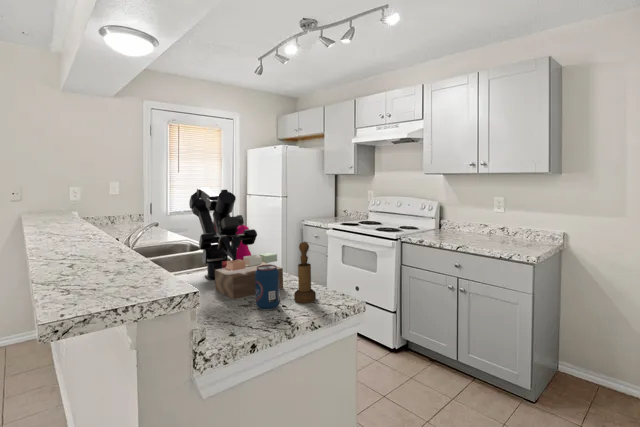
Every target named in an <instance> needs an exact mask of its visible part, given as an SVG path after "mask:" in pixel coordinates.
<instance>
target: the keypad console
mask: <svg viewBox="0 0 640 427" xmlns="http://www.w3.org/2000/svg"><path fill="white" fill-rule="evenodd" d="M245 265H246V264H245ZM261 265H272V263H264V262H262V264H258V265H253V266H249V265H246V269H240V270H235V271H232V270H230V269H227V266H226V267H225V268H222V269H216V270H215V279H214V282H215V285H214V286H215V291H217V292H219V293H221V294H223V295H224V296H226V297H228V298H230V299H231V300H239V299H244V298H248V297H252V296H256V289H255V272H256V270H257V267H258V266H261ZM277 270H278V271H279V290H281V288H282V289H284V268H283V267H281V266H277Z"/></svg>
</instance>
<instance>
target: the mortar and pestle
mask: <svg viewBox="0 0 640 427" xmlns="http://www.w3.org/2000/svg"><path fill="white" fill-rule="evenodd" d="M309 248H310V245H309V243H308V242H307V241H303V242H300V243H299V245H298V249H299V251H300V253H301V256H300V262H301V263H298V264H297V273H298V275H297V277H298V278H297V279H298V280H297V281H298V288H297V289H296V291H295V292H294V293H293V295H294V296H293V299H294V302H295V303H299V304H309V303H314V302H315V301H316V300H317V295H316V294H317V293H316V291H315V290H314V289H312V268H311V265H312V263H309V262H308V260H309V257H308V255H307V254H308V251H309Z"/></svg>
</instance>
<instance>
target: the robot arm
mask: <svg viewBox="0 0 640 427" xmlns="http://www.w3.org/2000/svg"><path fill="white" fill-rule="evenodd" d="M235 204H236V195H235V194H234V193H232V192H230V191H228V189H221V190H220V193H219V194H217V193H216V192H214V191H213V190H211V188H210V187H199V188H196V191H195V192H194V193H193V194H192V195H191V196H190V198H189V205H188V206H189V209H191V212H192V214H193V215H195V216H196V217H198V220H199V223H200V226H201V229H202V232H203V233H201V235H200V237H199V241H198V246H199V250H201V251H202V254H201V261H202V263H203V264H205V265H207V266H206V268H207V274H206V275H204V277H205V278H206V279H207V280H210V281H212V280H215V270H216V269H222V268H223V263H222V261H228V257H229V258H230V259H231V260H236V255H237V248H238V247H239V246H240V243H241V240H242V244H244V245H248V246H249V245H254V244H255V242H256V240H257V236H258V232H257V231H256V229H253V228H252V229H250V228H249V230H244V232H243V234H236V232H238V229H237V227H238V226H240V225H243V223H244V224H245V222H244V217H243V215H241V214H237V215H236V216H235V215H234V216H231V213H232V212H233V210H234V207H235ZM211 212H212V216H211ZM212 217H213V218H212ZM213 221H215V225H216V228H217V230H215V227H214V224H213ZM216 232H217V233H218V235H219V236H217V233H216Z"/></svg>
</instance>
